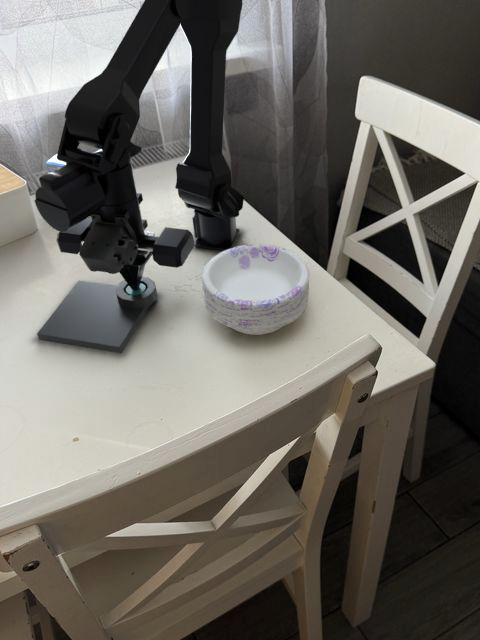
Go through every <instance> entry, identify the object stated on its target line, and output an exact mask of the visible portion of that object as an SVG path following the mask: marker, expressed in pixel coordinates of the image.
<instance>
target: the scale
mask: <svg viewBox="0 0 480 640" xmlns="http://www.w3.org/2000/svg"><path fill="white" fill-rule="evenodd" d="M141 283H142V284H144V285H145V286H146V291H145V292H144V293H142V294H140V295H135V296H132V295H127V293H126V288H127V287H128V286H129V285H128V283H127V282H126V281H125V279H123V280H122V281H120V282H119V283H118V285H112V284H107V283H98V282H91V281H85V280H78V281H77V282H76V283H75V284H74V286H73V287H72V288H71V290H70V291H69V292H68V294H66V296H65V297H64V299H63V300H62V301H61V302H60V304H59V305H58V306H57V308H56V309H55V310H54V311H53V312H52V314H51V315H50V317H49V318H48V319H47V320H46V322H45V323H44V324H43V325H42V327H40V329H39V330H38V331H37V333H36V335H37V337H38V340H41V341H46V342H52V343H58V344H64V345H71V346H76V347H81V348H88V349H92V350H93V349H94V350H100V351H105V352H111V353H116V354H122V353H123V351H124V350H125V348H126V347H127V344H128V343H129V342H130V340H131V338H132V337H133V335H134V333H135V332H136V330H137V329H138V327H139V325H140V324H141V322H142V321H143V319H144V318H145V315H146V314H147V312H148V311H149V309H150V308H151V306H152V305H153V304H154V303H155V301H156V300H157V298H158V291H157V286H156V282H155V281H154V280H152V279H151V278H150V277H148V276H142V279H141Z"/></svg>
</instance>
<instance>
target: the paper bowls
mask: <svg viewBox="0 0 480 640" xmlns="http://www.w3.org/2000/svg"><path fill="white" fill-rule="evenodd" d="M309 270H310V269H309V267H308V265H307V264H306V262H305V261H304V260H303V259H302V258H301V256H299V255H298V254H296V253H295V252H293V251H291V250H289V249H287V248H284V247H281V246H277V245H272V244H262V243H257V244H255V243H253V244H252V243H251V244H244V245H243V244H242V245H237V246H234V247H232V248H231V249H228V250H225V251H223V250H222V251H221V252H218V253H217V254H216V255H214V256H213V257H212V258H210V259H209V261H208V262H207V263H206V265H205V266H204V268H203V270H202V274H201V283H202V292H203V300H204V305H205V309H206V311H207V313H208V314H209V315H210V316H211V317H212V318H213V319H214V320H215V321H217V322H218V323H220V324H222V325H224V326H226V327H228V328H231V329H233V330H235V331H237V332H238V333H242V334H245V335H246V334H247V335H258V336H259V335H265V334H270V333H274V332H277V331H279V330H281V328H283V327H285V326H286V325H289V324H291V323H293V322H295V321H296V320H298V319H299V318H300V316H301V315H303V313H304V312H305V310H306V309H307V306H308V303H309V295H310V293H309V292H310V271H309Z"/></svg>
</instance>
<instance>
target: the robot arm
mask: <svg viewBox="0 0 480 640" xmlns="http://www.w3.org/2000/svg"><path fill="white" fill-rule="evenodd" d="M242 9H243V0H144V1H143V2H142V5H141V6H140V8H139V10H138V12H137V13H136V15H135V17H134V18H133V20H132V21H131V24H130V25H129V26H128V29H127V31H126V32H125V34H124V36H123V37H122V39H121V40H120V43H119V45H118V46H117V48H116V50H115V51H114V53H113V54H112V56H111V59H110V60H109V62H108V63H107V66H106V67H105V68H104V69H103V70H102V72H101V73H100V74H99V75H97V76H95V77H94V78H92V79H90V80H89V81H87V82H85V83H83V85H82V86H81V87H80V89H79V90H78V91H77V92H76V93H75V95H74V96H73V97H72V98H71V100H70V101H69V102H68V103H67V104H68V105H67V107H66V109H65V112H64V119H65V120H64V124H63V128H62V133H61V137H60V141H59V145H58V150H57V153H56V154H57V159H58V160H59V161H63V162H66V165H65V166H63V167H61V168H59V169H57V170H55V171H54V172H51V173H48V172H46V173H45V174H43V175H40V176H39V178H38V180H39V185H40V187H38V188H37V189H36V190H35V198H34V204H35V206H36V209H37V211H38V213H39V214H40V217H42V219H43V220H44V222H46V223H47V225H48V226H49V227H51V228H52V229H53V230H56V231H58V233H57V235H56V242H57V247H58V249H59V251H60V253H63V254H64V253H66V254H73V255H79V256H80V258H81V260H82V261H83V262H84V264H85V266H86V267H87V268H88V270H89V271H90V272H101V273H107V274H109V275H110V274H111V275H116V274H118V273H119V274H120V275H121V277H122V278H123V280H125V281H126V282H127V283H128V285H129V286H130V288H131V289H132V290H138V288H139V287H140V283H141V279H142V277H143V275H144V271H145V268H146V265H147V263H148V262H149V260H150V259H151V257H152V260H153V262H155V263H156V264H157V265H158V266H161V267H168V268H180V267H183V265H184V264H185V263H186V260H187V259H188V257H189V255H190V254H191V252H192V251H193V249H194V247H195V248H199V249H208V250H215V251H222V252H223V251H225V250H228V249H231V248H233V246H234V244H235V243H236V241H237V239H238V237H239V235H240V233H241V229H239V228H237V218H238V217H239V216H240V211H241V210H243V208H244V200H245V196H244V195H243V194H242V193H240V192H239V191H238V190H236V189H235V188H233V185H232V171H231V169H230V166H229V164H228V162H227V160H226V158H225V156H224V154H223V141H224V140H223V138H224V118H225V117H224V113H225V91H226V68H227V67H226V66H227V51H228V49H229V47H230V46H231V44H232V43H233V40H234V39H235V37H236V36H237V34H238V32H239V29H240V21H241V15H242V14H241V13H242ZM179 27H180V28H181V29H182V32H183V34H184V36H185V38H186V40H187V43H188V45H189V47H190V109H189V110H190V113H189V115H190V116H189V118H190V119H189V152H188V153H187V155H186V157H185V158H184V160H183V161H182V162H178V163H177V164H176V167H175V172H176V183H175V187H174V188H175V190H177V195H178V198H179V199H181V200H182V201H183V203H184V205H185V208H187V209H192V210H193V214H194V215H193V216H192V219H191V220H192V226H193V228H192V229H193V233H194V234H192V232H191V231H190V230H189V229H183V228H176V227H175V228H174V227H166V226H165V227H164V228H163V230H162V231H161V233H160V234H159V235H158V236H156V233H155V232H153V231H146V229H147V228H148V227H149V225H148V220H147V219H144V218H143V217H142V212H141V211H142V210H141V207H140V204H142V202H143V201H144V199H143V193H141V192H138V191H137V185H136V181H135V176H134V171H133V165H132V160H131V159H132V158H133V157H135V156H137V155H138V154H140V153H141V152H142V147H141V146H140V145H137V144H136V143H134V142H133V141H131V140H132V138H133V135H134V133H135V131H136V128H137V126H138V123H139V121H140V118H141V112H140V111H141V109H140V99H141V96H142V94H143V91H144V90H145V88H146V86H147V84H148V83H149V81H150V79H151V77H152V75H153V74H154V72H155V71H156V68H157V66H158V64H159V63H160V61H161V59H162V58H163V56H164V54H165V53H166V50H167V49H168V47H169V45H170V43H171V42H172V40H173V39H174V36H175V35H176V33H177V32H178V29H179ZM80 144H82V145H86V146H89V147H92V148H95V149H98V150H97V151H95V152H92V151H89V150H85V149H83V148H79V146H80ZM195 239H196V240H195Z"/></svg>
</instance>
